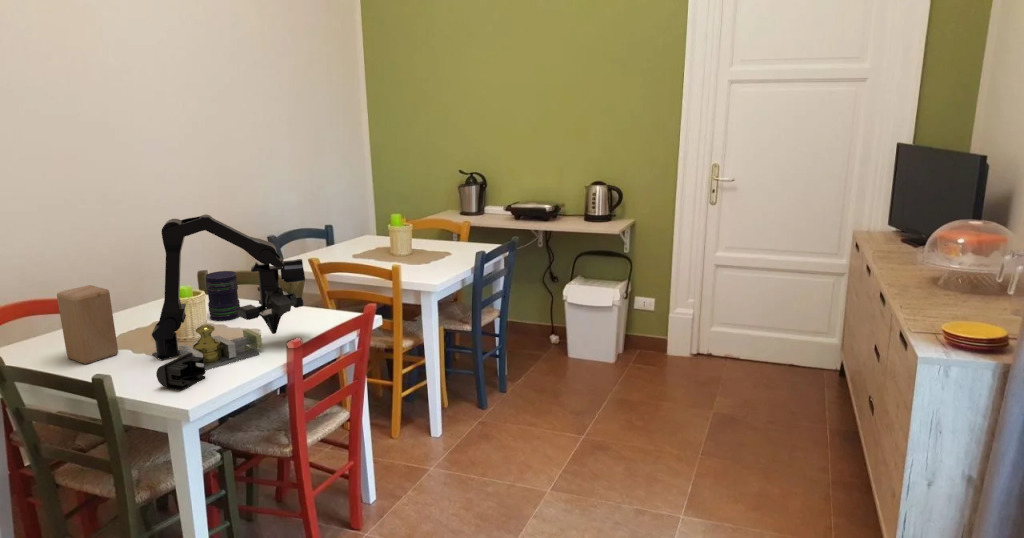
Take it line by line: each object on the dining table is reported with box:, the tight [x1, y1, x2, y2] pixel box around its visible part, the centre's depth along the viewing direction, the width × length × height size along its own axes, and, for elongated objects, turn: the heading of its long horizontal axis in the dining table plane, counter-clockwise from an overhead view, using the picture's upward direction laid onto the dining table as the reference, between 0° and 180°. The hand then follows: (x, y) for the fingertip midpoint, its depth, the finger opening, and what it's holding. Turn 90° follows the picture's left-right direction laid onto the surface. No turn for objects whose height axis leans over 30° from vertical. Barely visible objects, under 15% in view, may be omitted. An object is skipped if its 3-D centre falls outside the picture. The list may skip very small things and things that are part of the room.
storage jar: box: [205, 270, 241, 322], centre depth 233 cm, size 10×10×15 cm
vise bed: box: [178, 344, 260, 371], centre depth 197 cm, size 11×18×5 cm, turn 138°
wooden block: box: [56, 284, 119, 365], centre depth 197 cm, size 10×10×20 cm
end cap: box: [155, 353, 207, 392], centre depth 181 cm, size 10×7×7 cm
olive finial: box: [192, 323, 222, 363], centre depth 194 cm, size 7×8×10 cm
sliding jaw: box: [213, 328, 263, 358], centre depth 201 cm, size 10×10×4 cm
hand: (273, 333), depth 209 cm, fingers closed
